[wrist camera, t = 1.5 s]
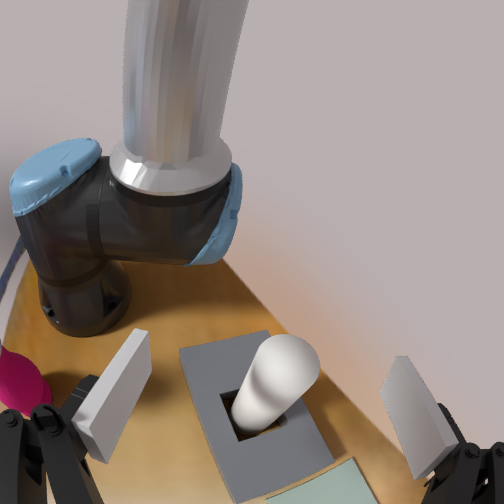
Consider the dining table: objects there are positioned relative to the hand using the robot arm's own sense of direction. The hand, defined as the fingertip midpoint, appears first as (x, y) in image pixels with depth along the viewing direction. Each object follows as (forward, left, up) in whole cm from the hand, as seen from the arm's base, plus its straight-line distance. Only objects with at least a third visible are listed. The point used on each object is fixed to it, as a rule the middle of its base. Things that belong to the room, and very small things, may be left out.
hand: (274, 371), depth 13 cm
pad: (+15, +7, -21) cm, 27 cm away
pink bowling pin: (-9, -24, -22) cm, 33 cm away
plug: (-2, +4, -21) cm, 22 cm away
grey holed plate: (-2, +4, -21) cm, 22 cm away
